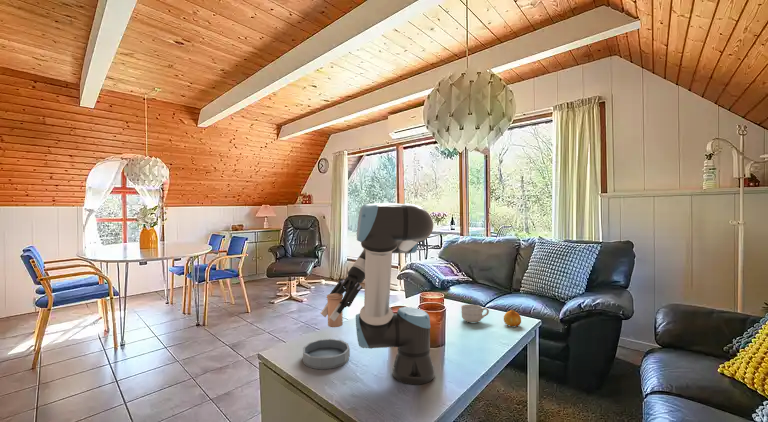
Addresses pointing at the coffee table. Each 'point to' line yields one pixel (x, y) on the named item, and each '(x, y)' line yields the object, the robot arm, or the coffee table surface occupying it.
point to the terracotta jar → (332, 304)
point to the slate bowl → (326, 354)
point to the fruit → (512, 318)
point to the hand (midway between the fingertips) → (327, 317)
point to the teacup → (473, 313)
